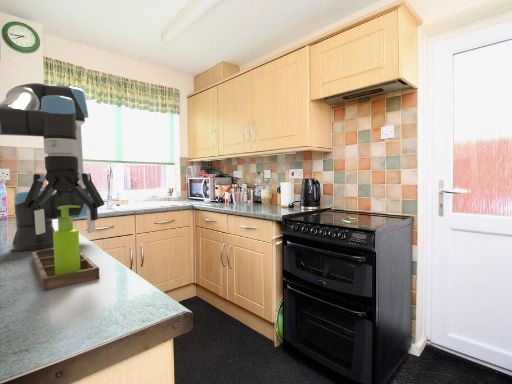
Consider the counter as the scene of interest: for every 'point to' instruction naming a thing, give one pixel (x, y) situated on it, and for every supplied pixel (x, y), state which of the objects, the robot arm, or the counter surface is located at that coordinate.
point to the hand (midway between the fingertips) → (66, 232)
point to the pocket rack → (49, 281)
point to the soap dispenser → (66, 244)
